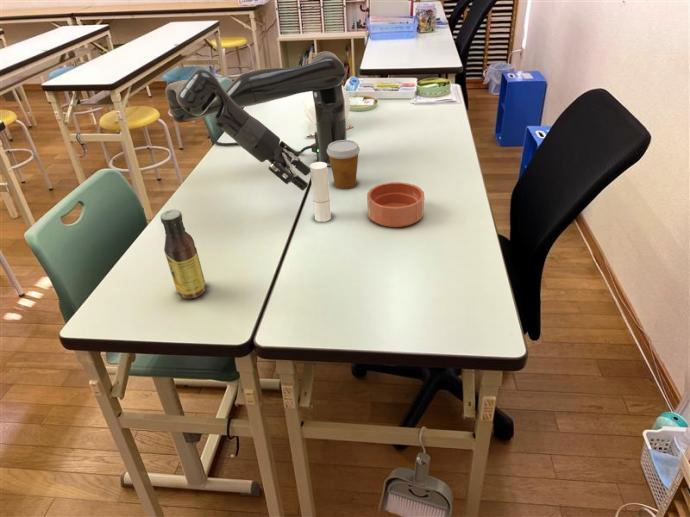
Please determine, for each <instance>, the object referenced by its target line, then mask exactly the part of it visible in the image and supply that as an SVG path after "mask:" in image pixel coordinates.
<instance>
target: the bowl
mask: <svg viewBox="0 0 690 517" xmlns="http://www.w3.org/2000/svg"><path fill="white" fill-rule="evenodd" d="M366 204H367V209H366V210H367V217H368V218H369V219H370V220H371V221H372V222H374V223H376V224H378V225H380V226H384V227H389V228H402V227H403V228H404V227H408V226H410V225H413V224H414V223H417V222H418V221H420V220H421V219H422V218H423V216H424V213H425V192H424V190H422V189H421V187H419V186H417V185H415V184H412V183H409V182H401V181H392V182H384V183H381V184H377V185H375V186H374V187H371V188H370V189H369V190H368V192H367V194H366Z"/></svg>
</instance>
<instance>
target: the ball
mask: <svg viewBox="0 0 690 517" xmlns="http://www.w3.org/2000/svg"><path fill="white" fill-rule="evenodd" d="M342 91H343V96H344V101H345V119H346V121H347V120H348V118H349V114H350V111H351V108H352V106H351V99H350V98H351V97H350V93H349V92H348V91H347V90H346V88H345V87H344V85H342ZM303 108H304V114H305V117H306V118H307V119H308V120H309V121H310V122H311V124H312V125H313V126H315V127H316V116H315V105H314V100H313V93H312V91H311V92H305V96H304V100H303ZM347 127H348V128H347ZM347 127H346V131H349V130H352V129H354V126H351V125H349V126H347ZM306 137H307V138H315V134H313V135H312V134H311V133H308V135H306Z"/></svg>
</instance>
